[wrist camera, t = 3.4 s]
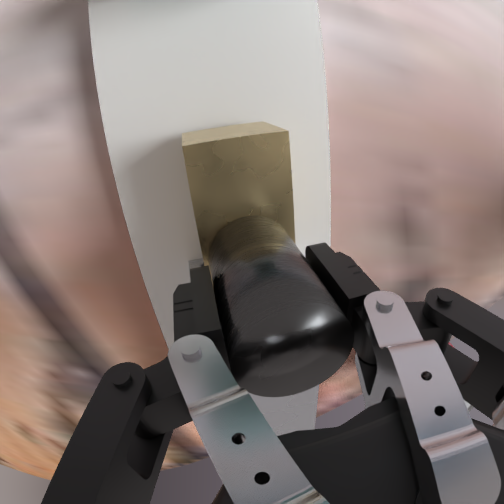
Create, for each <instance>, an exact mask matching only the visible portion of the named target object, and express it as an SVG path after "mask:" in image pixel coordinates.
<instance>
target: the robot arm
mask: <svg viewBox="0 0 504 504" xmlns="http://www.w3.org/2000/svg"><path fill="white" fill-rule="evenodd" d="M305 258H306V260H307V261H308V263H309V264H310V265H311V267H312V268H313V270H314V271H315V272H316V274H317V275H318V277H319V278H320V280H321V281H322V282H323V284H324V285H325V287H326V288H327V290H328V291H329V292H330V294H331V295H332V297H333V298H334V300H335V301H336V303H337V304H338V306H339V307H340V308H341V310H342V311H343V313H344V314H345V316H346V317H347V319H348V320H349V322H350V323H351V325H352V328H353V331H354V343H353V347H352V348H354V349H355V351H356V355H355V364H356V368H357V372H358V376H359V380H360V384H361V388H362V392H363V396H364V401H365V410H364V411H362V412H361V413H359V414H358V415H356V416H355V417H353V418H352V419H350V420H349V421H347V422H346V423H344V424H343V425H341V426H339V427H334V428H324V429H312V430H298V431H294V432H290V433H287V434H283V435H279V436H276V434H275V433H274V431H273V430H272V428H271V427H270V425H269V424H268V422H267V421H266V419H265V418H264V416H263V415H262V413H261V411H260V410H259V408H258V407H257V405H256V404H255V402H254V401H253V399H252V397H251V396H250V394H249V393H248V392H247V390H246V389H245V388H240V387H239V385H238V384H237V382H236V380H235V379H234V377H233V375H232V373H231V369H230V364H229V360H228V355H227V351H226V346H225V341H224V337H223V332H222V327H221V322H220V317H219V313H218V308H217V303H216V298H215V293H214V288H213V283H212V279H211V274H210V269H209V265H207V266H202V267H197V268H192V269H190V279H191V282H190V283H185V284H180V285H178V286H177V288H176V290H175V292H174V293H173V312H174V313H173V321H174V343H173V344H172V345H171V347H170V349H169V351H168V356H167V357H166V358H165V359H164V360H162V361H161V362H159V363H157V364H155V365H153V366H150V367H148V368H146V369H142V368H141V366H139V365H137V364H135V363H131V362H125V363H120V364H117V365H115V366H113V367H111V368H110V369H109V370H108V371H107V372H106V373H105V374H104V376H103V377H102V379H101V381H100V383H99V385H98V387H97V388H96V390H95V392H94V394H93V396H92V398H91V400H90V402H89V404H88V405H87V407H86V409H85V411H84V413H83V415H82V417H81V419H80V421H79V423H78V425H77V427H76V429H75V431H74V433H73V435H72V437H71V439H70V441H69V443H68V445H67V447H66V449H65V452H64V454H63V456H62V458H61V460H60V462H59V464H58V466H57V469H56V471H55V473H54V475H53V477H52V480H51V482H50V484H49V486H48V489H47V491H46V493H45V496H44V498H43V501H42V503H41V504H150V501H151V498H152V495H153V492H154V488H155V485H156V482H157V479H158V476H159V473H160V470H161V467H162V463H163V460H164V457H165V454H166V451H167V448H168V445H169V442H170V439H171V436H172V433H173V429H175V428H178V427H180V426H182V425H184V424H186V423H188V422H191V421H193V422H194V424H195V426H196V429H197V431H198V433H199V435H200V437H201V439H202V442H203V444H204V446H205V448H206V450H207V452H208V454H209V456H210V458H211V460H212V462H213V464H214V466H215V468H216V470H217V472H218V474H219V476H220V478H221V480H222V482H223V485H222V487H221V489H220V490H219V492H218V494H217V495H216V497H215V499H214V501H213V502H212V504H504V320H503V319H501V318H499V317H498V316H496V315H494V314H492V313H491V312H489V311H487V310H486V309H484V308H482V307H480V306H479V305H477V304H475V303H473V302H471V301H470V300H468V299H466V298H464V297H463V296H461V295H459V294H457V293H455V292H454V291H451V290H449V289H445V288H435V289H432V290H430V291H429V292H428V293H427V295H426V298H425V302H404V300H403V299H402V298H401V297H400V296H399V295H397V294H395V293H393V292H390V291H381V290H380V289H379V288H378V287H377V286H376V285H375V284H374V283H373V281H372V280H371V279H370V278H369V277H368V276H367V275H366V274H365V273H364V272H363V270H362V269H361V268H360V267H359V266H357V264H356V263H355V262H354V261H353V260H352V258H351V257H349V256H347V255H345V254H343V253H341V252H337V253H335V252H334V251H333V250H332V249H331V248H330V247H329V246H328V244H327V243H325V242H324V243H319V244H314V245H309V246H306V250H305ZM452 335H453V336H455V337H456V338H458V339H460V340H461V341H463V342H464V343H466V344H468V345H469V346H471V347H472V348H474V349H475V350H476V351H477V352H478V354H479V362H476V361H474V360H472V359H471V358H469V357H468V356H466V355H464V354H463V353H461V352H460V351H458V350H457V349H455V348H454V347H452V346H451V345H449V344H448V343H449V341H450V338H451V336H452ZM464 400H465V401H466V402H468V403H469V404H470V405H472V406H473V407H475V408H476V409H478V410H479V411H481V412H482V413H483V414H485V415H486V416H487V417H489V418H490V419H492V420H493V422H494V424H493V425H492V426H491V425H488V424H485V423H482V422H480V421H477V420H474V419H472V418H471V417H470V414H469V412H468V409H467V407H466V404H465V402H464Z"/></svg>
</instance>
